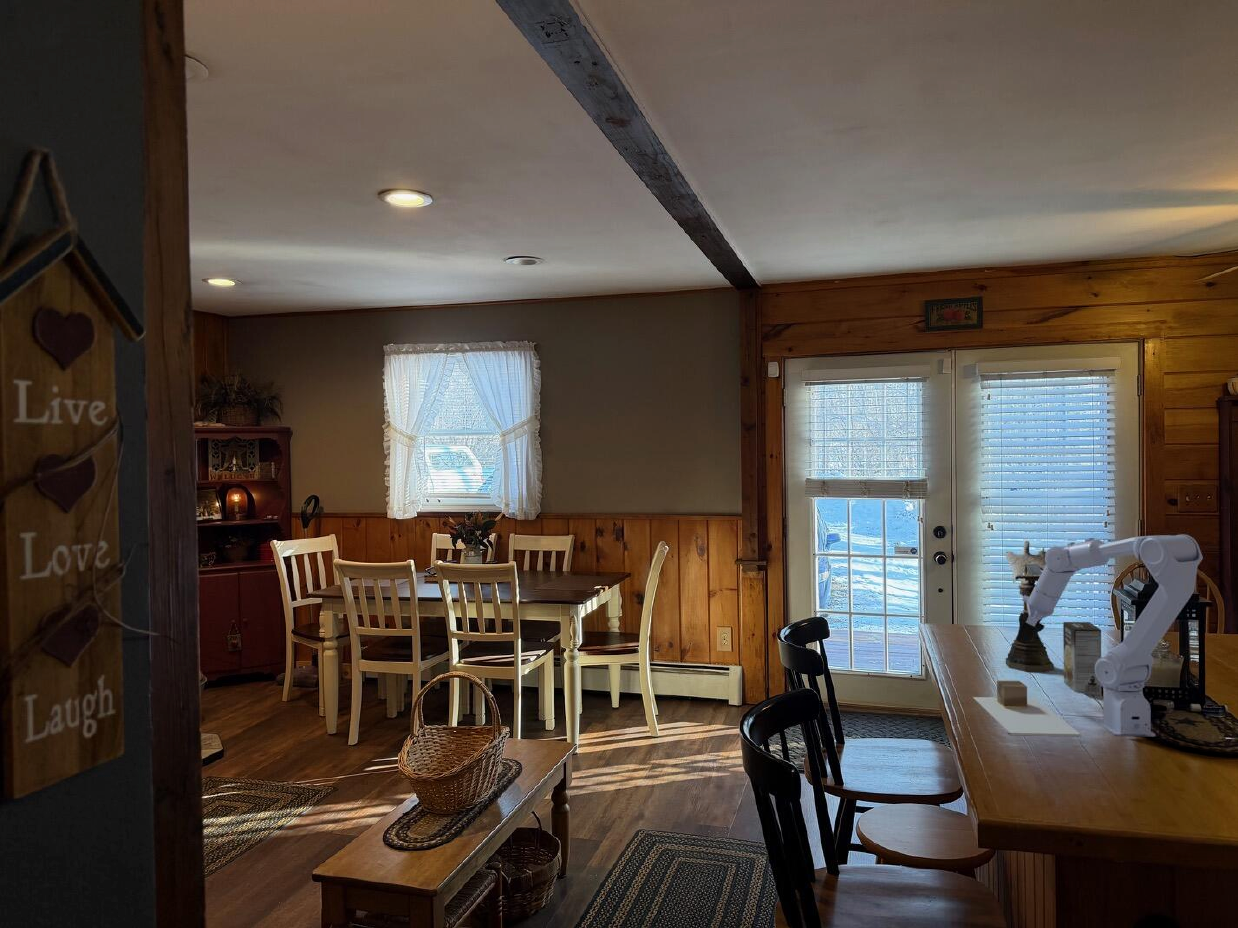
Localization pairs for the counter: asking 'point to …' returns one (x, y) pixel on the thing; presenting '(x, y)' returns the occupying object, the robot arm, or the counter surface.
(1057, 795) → the counter surface
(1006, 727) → the mat
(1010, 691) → the flip block
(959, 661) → the counter surface
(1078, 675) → the coffee box
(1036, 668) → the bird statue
